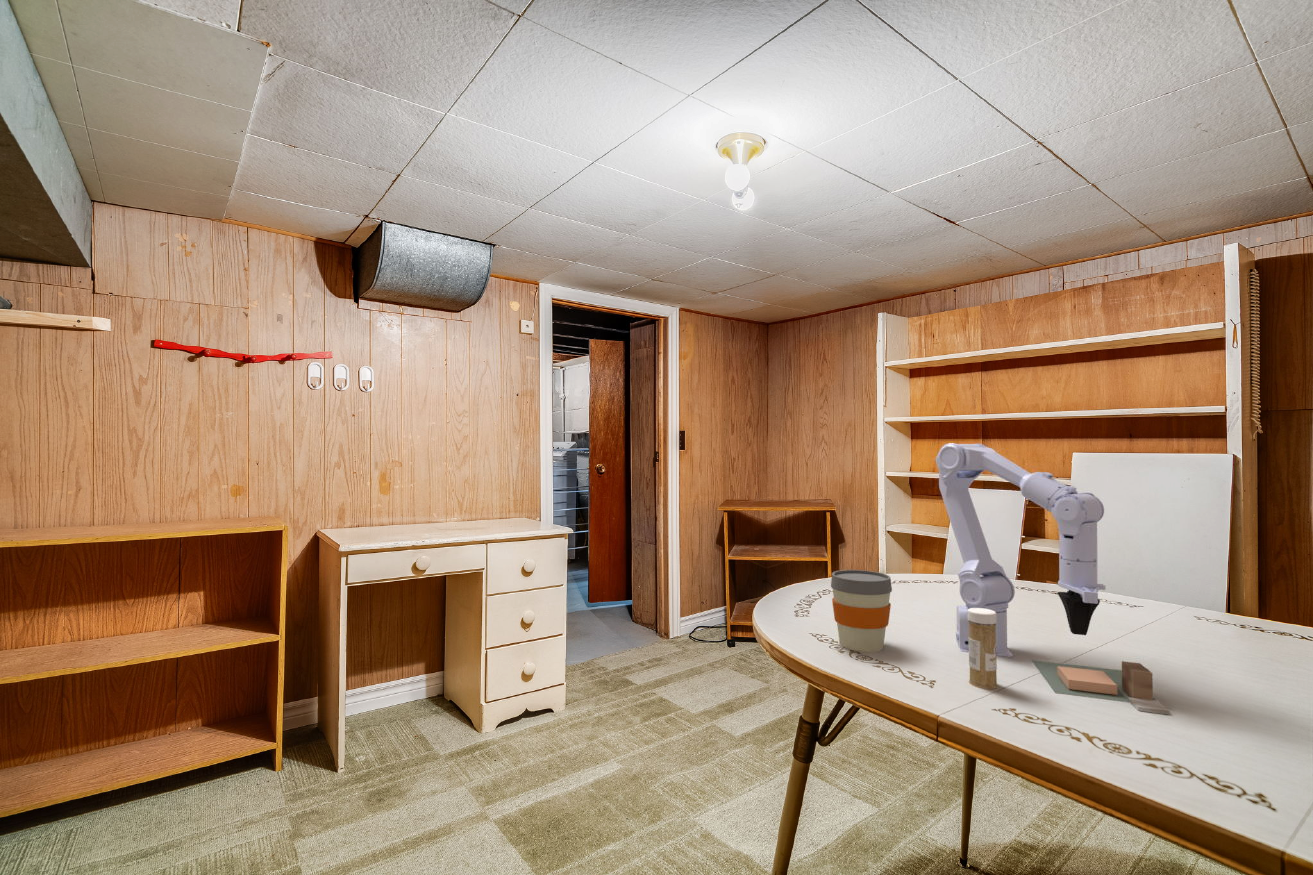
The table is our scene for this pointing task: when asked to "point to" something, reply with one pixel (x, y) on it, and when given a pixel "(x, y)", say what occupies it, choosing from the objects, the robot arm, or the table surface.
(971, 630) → the sprinkles bottle
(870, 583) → the reusable coffee cup
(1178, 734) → the table surface
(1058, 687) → the mat
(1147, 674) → the two-tone block stack
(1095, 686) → the tile
